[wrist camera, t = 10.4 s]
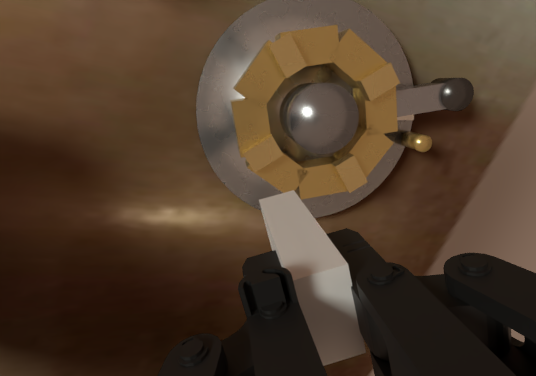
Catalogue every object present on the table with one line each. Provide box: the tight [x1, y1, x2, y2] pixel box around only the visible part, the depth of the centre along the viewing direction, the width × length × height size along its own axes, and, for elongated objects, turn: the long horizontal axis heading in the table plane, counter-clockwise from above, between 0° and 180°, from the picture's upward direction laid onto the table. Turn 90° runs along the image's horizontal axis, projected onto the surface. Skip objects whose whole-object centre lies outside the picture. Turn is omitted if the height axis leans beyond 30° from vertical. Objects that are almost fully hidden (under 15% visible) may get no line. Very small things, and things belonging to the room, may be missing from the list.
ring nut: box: [230, 25, 474, 200], centre depth 35 cm, size 22×15×4 cm, turn 98°
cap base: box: [196, 0, 432, 218], centre depth 35 cm, size 22×22×8 cm
